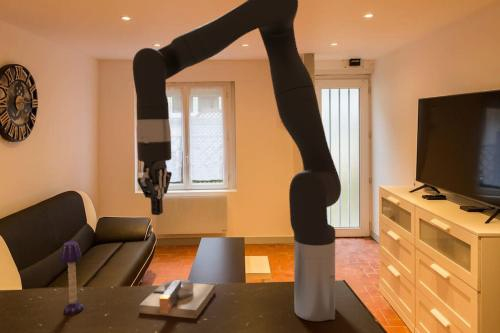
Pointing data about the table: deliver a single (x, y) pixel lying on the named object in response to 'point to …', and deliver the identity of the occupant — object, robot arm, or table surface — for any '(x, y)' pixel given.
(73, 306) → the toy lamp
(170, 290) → the orange-tipped lever
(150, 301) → the board
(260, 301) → the table surface
